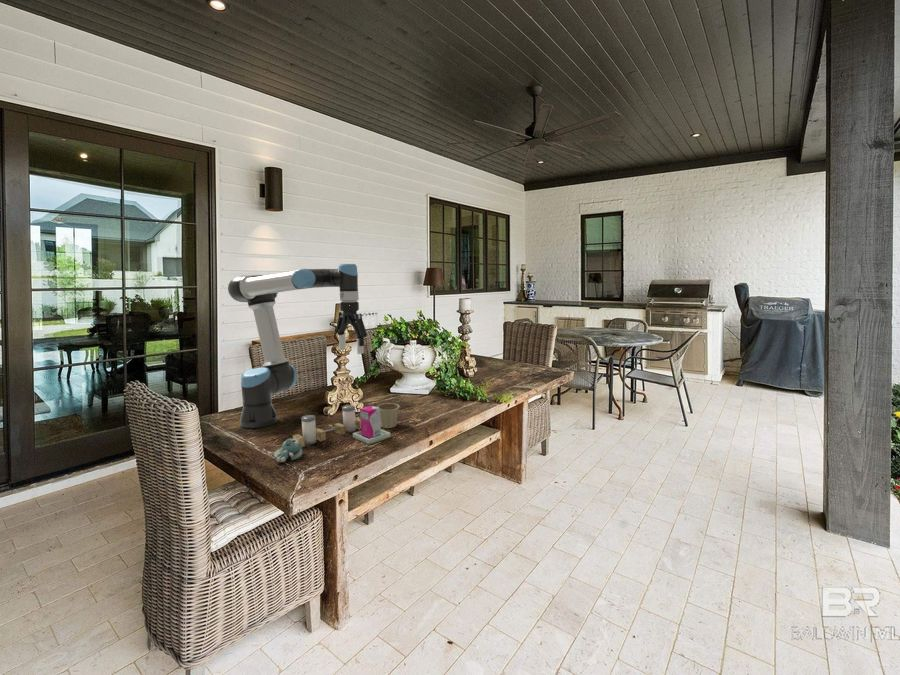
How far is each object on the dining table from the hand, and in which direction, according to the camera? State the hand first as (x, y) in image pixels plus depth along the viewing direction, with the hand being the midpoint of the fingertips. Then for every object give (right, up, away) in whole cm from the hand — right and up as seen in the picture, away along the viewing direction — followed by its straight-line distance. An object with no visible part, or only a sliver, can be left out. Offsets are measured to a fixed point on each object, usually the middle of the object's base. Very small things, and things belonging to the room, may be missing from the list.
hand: (351, 351), depth 194 cm
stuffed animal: (-16, -37, -30) cm, 50 cm away
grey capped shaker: (0, -33, -3) cm, 33 cm away
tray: (+11, -34, -12) cm, 37 cm away
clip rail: (-8, -33, -9) cm, 35 cm away
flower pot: (+16, -32, +2) cm, 36 cm away
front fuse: (-13, -35, -16) cm, 40 cm away
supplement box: (+10, -33, -12) cm, 37 cm away
